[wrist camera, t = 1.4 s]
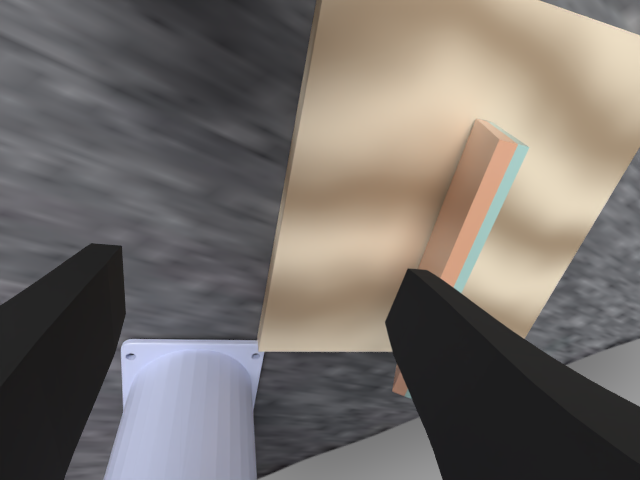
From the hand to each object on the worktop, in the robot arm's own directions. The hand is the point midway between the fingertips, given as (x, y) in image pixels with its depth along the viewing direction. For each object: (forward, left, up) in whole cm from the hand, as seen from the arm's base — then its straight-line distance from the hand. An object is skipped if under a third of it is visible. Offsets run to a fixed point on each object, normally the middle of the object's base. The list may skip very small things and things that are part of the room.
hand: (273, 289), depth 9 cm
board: (0, -11, -10) cm, 15 cm away
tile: (0, -8, -5) cm, 9 cm away
